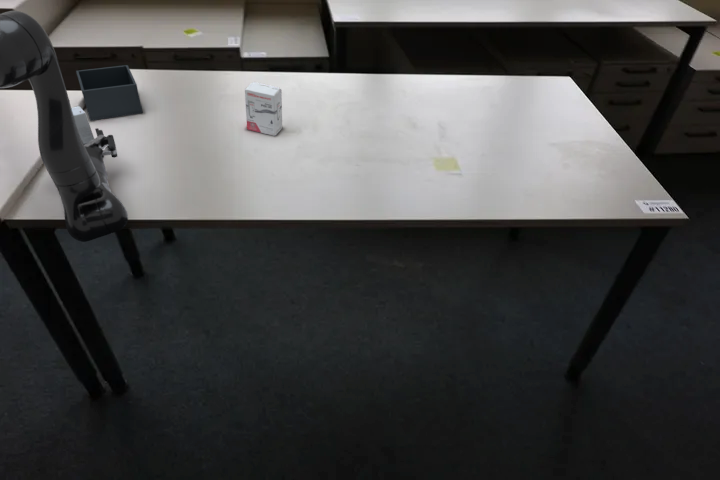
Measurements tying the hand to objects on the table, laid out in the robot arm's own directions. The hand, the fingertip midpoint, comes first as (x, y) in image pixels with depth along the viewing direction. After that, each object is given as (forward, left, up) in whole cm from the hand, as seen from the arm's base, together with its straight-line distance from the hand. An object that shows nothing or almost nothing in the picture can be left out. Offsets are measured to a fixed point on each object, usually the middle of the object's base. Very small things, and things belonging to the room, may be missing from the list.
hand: (77, 135), depth 117 cm
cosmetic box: (0, +1, -7) cm, 7 cm away
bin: (+10, +26, -7) cm, 29 cm away
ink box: (+45, 0, -7) cm, 45 cm away
